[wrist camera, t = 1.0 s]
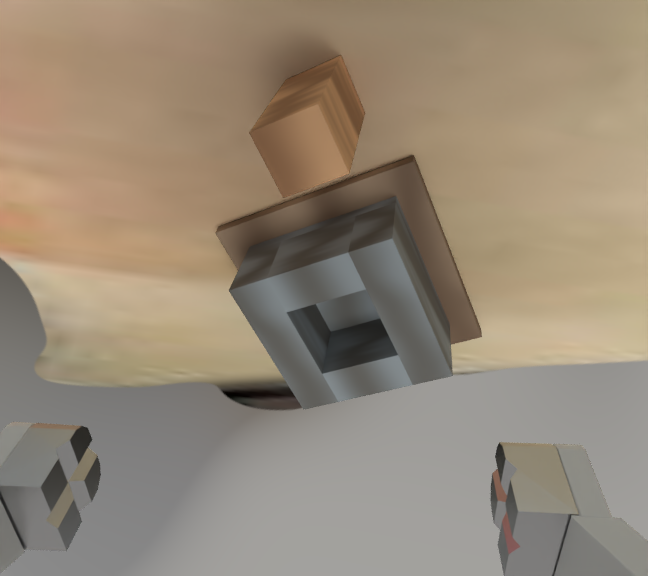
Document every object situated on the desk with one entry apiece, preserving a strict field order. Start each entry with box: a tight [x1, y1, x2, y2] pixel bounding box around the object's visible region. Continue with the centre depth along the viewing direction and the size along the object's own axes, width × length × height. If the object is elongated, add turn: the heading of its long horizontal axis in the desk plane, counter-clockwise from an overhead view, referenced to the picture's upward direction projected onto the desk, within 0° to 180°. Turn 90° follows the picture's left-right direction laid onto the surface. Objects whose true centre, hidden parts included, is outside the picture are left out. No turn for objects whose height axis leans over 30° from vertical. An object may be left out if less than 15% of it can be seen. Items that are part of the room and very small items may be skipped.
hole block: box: [216, 156, 482, 409], centre depth 44 cm, size 16×16×7 cm
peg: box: [249, 55, 365, 198], centre depth 35 cm, size 4×4×10 cm
